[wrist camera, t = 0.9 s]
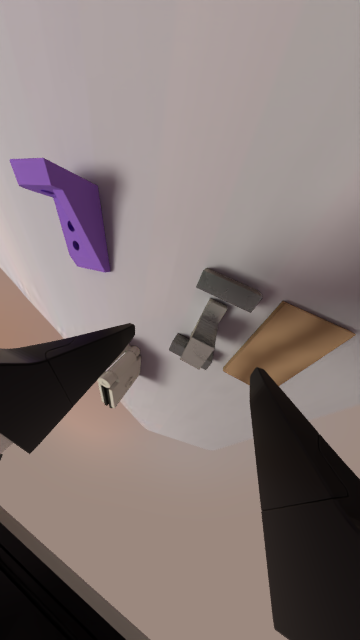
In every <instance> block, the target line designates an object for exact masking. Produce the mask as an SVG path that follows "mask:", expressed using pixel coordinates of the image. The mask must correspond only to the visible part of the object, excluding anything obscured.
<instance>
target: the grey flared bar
mask: <svg viewBox="0 0 360 640" xmlns="http://www.w3.org/2000/svg"><path fill="white" fill-rule="evenodd" d="M226 311H227V306H226V305H224V304H222V303H220V302H218V301H216V300H214V299H211V298H210V299H209V301H208V303H207V305H206V307H205V309H204V311H203V313H202V315H201V316H200V318H199V320H198V322H197V324H196V326H195V328H194V330H193V332H192V334H191V336H190V339H189V341H188V343H187V345H186V347H185V349H184V351H183V354H182V356H181V358H180V360H182V361H184V362H186V363H188V364H190V365H192V366H193V367H195V368H197V369H200V368H201V367H202V365H203V364H204V362H205V361H206V360H207V358H208V357H209V356H210V354H211V353H212V351H213V350H214V348H215V341H216V334H217V328H218V323H219V321H220V320H221V318H222V317H223V315H224V314H225V312H226Z"/></svg>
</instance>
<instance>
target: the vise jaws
mask: <svg viewBox="0 0 360 640" xmlns="http://www.w3.org/2000/svg"><path fill="white" fill-rule="evenodd" d="M196 287H197V288H199V289H201V290H203V291H205V292H207V293H209V294H211V295H214V296H216V297H218V298H220V299H222V300H224V301H226V302H229V303H231V304H233V305H235V306H237V307H239V308H241V309H244V310H246V311H248V312H250V313H251V312H252V311H253V309H254V308H255V307H256V305H257V304H258V303H259V302H260V300H261V299H262V298H263V296H262V295H261V294H260V292H259V291H258V290H255V289H253V288H251V287H249V286H246V285H244V284H242V283H240V282H237V281H235V280H233V279H231V278H228V277H226V276H224V275H222V274H220V273H217V272H215V271H213V270H211V269H208V268H206V269H204V270H203V273H202V275H201V277H200V279H199V282H198V284H197V286H196ZM188 341H189V339H188V338H186V337H184V336H183V335H181V334H179V333H178V334H177V335H176V337H175V338H174V340H173V342H172V344H171V346H170V348H169V350H170V351H171V352H173V353H175V354H177V355H179V356H182V354H183V351H184V349H185V347H186V345H187V343H188ZM212 359H213V351H212V353H211V354H210V356H209V357H208V358H207V360H206V361H205V362H204V364H203V365H202V367H201V368H203V369H205V370H206V369H207V368H208V367H209V366H210V364H211V363H212Z"/></svg>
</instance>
